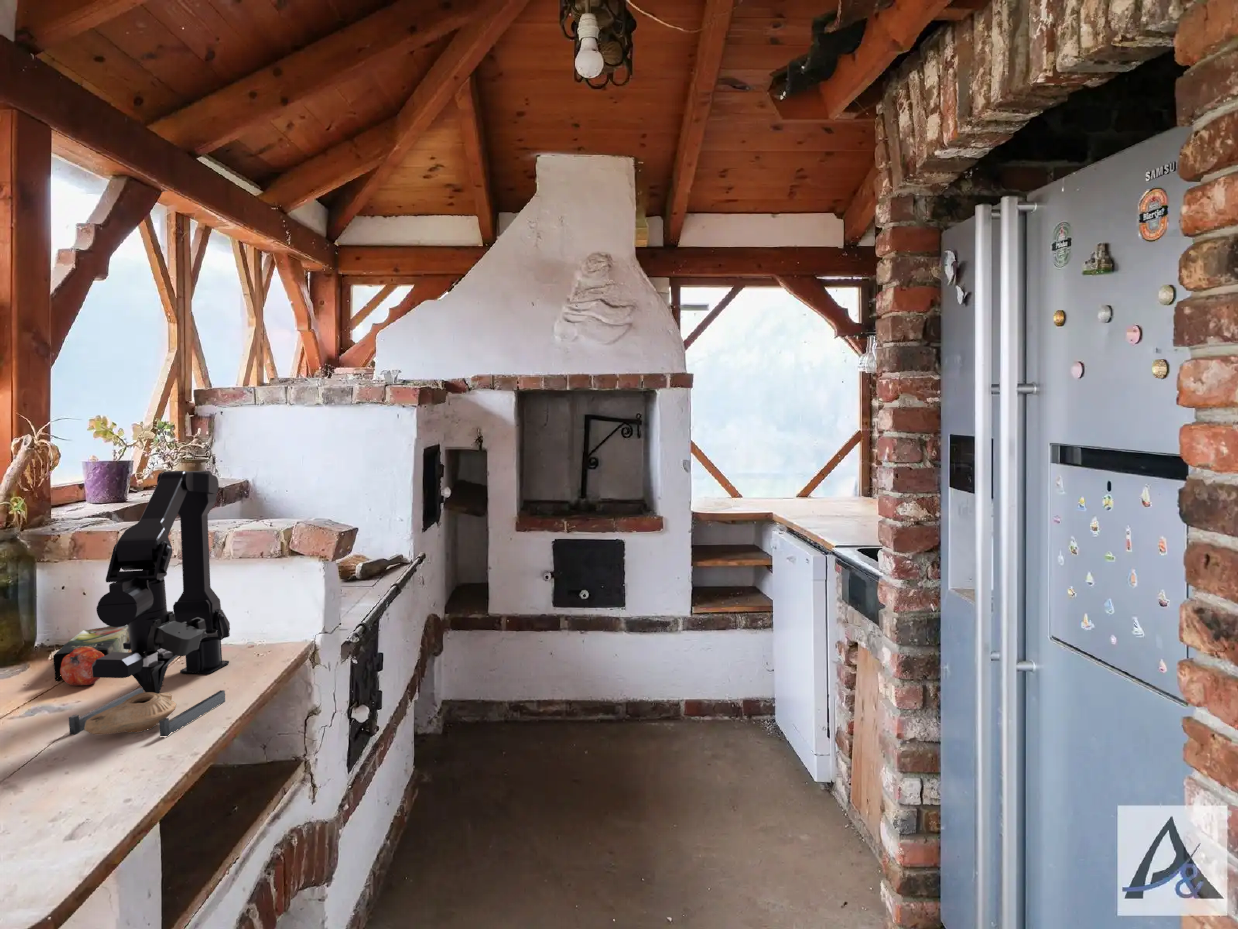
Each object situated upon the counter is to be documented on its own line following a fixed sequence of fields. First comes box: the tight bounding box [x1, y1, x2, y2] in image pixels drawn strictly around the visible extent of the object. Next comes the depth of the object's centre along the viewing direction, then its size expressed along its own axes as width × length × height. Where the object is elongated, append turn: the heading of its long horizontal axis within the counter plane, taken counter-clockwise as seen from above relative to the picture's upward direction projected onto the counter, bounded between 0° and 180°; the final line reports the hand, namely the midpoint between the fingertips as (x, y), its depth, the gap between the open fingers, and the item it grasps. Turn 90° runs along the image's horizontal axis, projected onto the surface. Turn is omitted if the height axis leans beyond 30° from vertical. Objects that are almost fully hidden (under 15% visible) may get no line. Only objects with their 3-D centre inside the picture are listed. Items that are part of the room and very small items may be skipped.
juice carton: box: [52, 625, 131, 682], centre depth 158 cm, size 20×10×6 cm, turn 21°
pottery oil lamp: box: [84, 691, 177, 735], centre depth 123 cm, size 9×12×7 cm
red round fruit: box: [60, 646, 104, 687], centre depth 146 cm, size 7×7×10 cm
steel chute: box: [68, 687, 226, 737], centre depth 129 cm, size 15×17×3 cm
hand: (154, 699), depth 130 cm, fingers closed
